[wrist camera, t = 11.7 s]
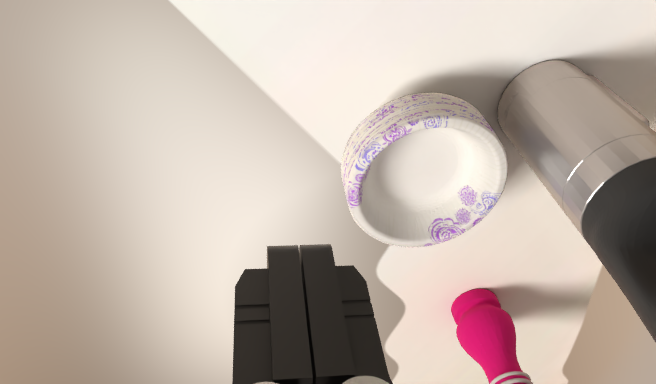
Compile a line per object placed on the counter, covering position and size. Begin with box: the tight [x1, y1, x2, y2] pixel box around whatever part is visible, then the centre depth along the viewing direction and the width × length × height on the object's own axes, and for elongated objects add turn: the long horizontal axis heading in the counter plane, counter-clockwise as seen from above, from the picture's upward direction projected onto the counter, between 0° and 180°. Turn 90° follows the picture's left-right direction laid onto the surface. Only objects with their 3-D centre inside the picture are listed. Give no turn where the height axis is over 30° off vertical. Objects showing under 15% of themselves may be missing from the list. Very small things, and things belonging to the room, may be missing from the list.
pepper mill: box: [451, 289, 533, 384], centre depth 64 cm, size 7×7×20 cm
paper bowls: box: [341, 93, 508, 247], centre depth 52 cm, size 15×15×8 cm
